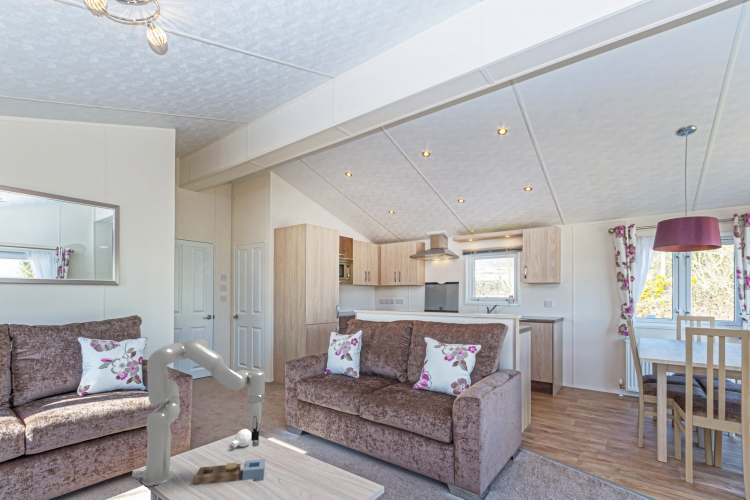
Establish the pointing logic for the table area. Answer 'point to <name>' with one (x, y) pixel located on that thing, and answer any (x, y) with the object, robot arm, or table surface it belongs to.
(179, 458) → the table surface
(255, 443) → the steel peg
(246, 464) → the blue square hole block
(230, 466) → the key
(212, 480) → the socket block
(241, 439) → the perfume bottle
